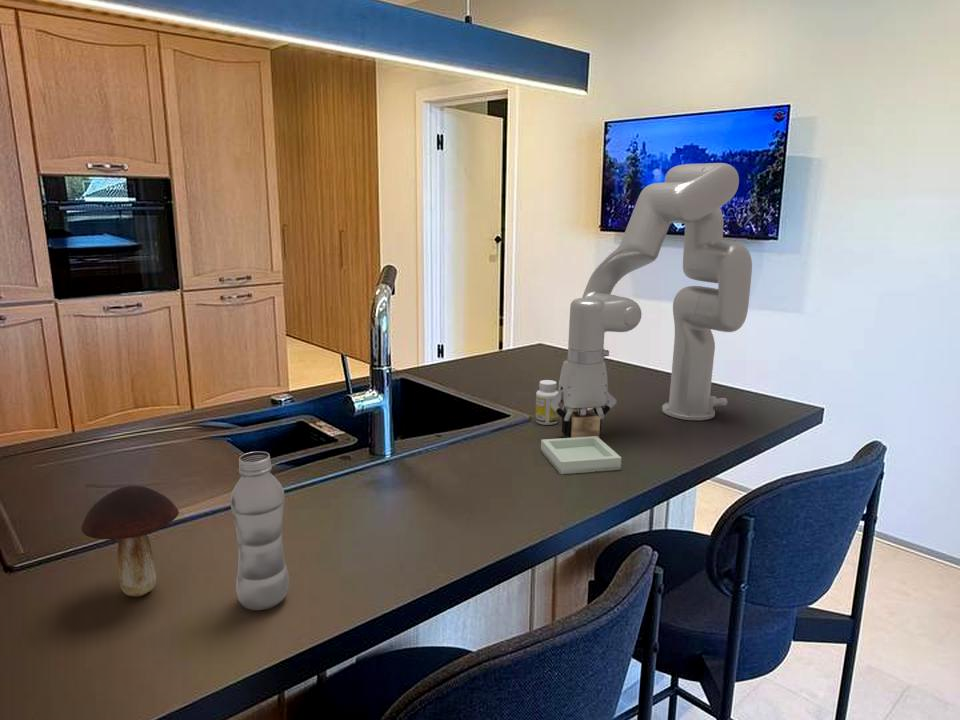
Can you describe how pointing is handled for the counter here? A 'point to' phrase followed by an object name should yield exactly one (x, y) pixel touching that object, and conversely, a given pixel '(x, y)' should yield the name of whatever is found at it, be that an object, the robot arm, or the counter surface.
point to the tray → (580, 455)
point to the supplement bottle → (546, 403)
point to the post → (582, 412)
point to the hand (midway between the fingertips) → (581, 434)
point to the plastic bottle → (259, 533)
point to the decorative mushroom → (131, 531)
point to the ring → (585, 424)
